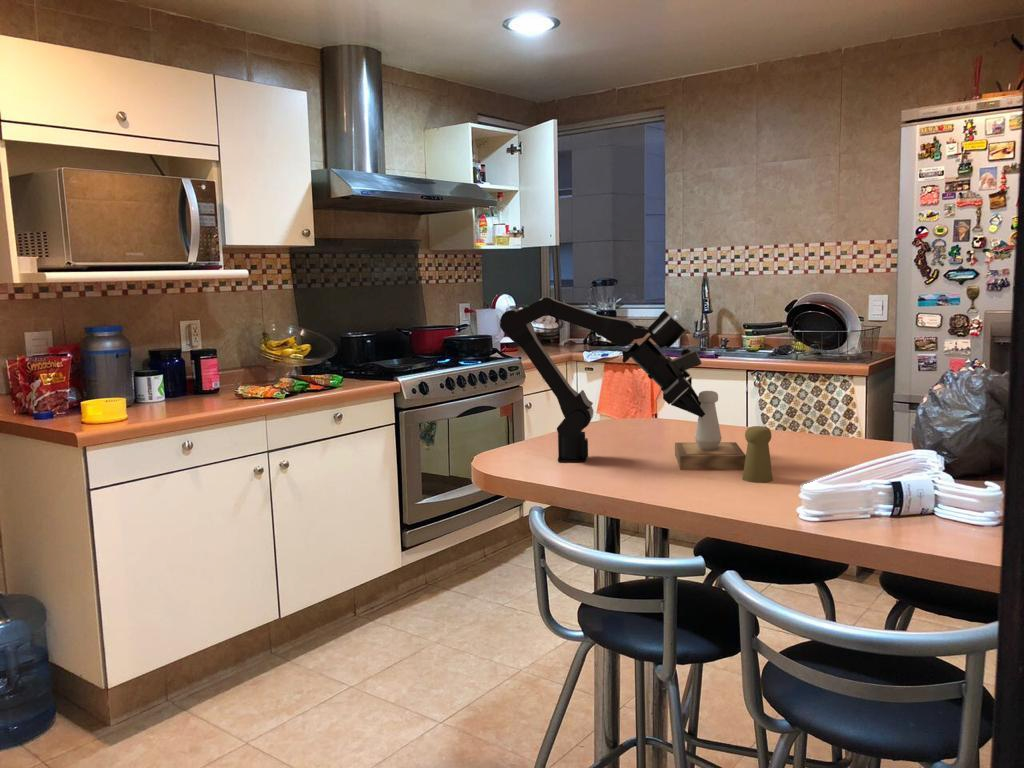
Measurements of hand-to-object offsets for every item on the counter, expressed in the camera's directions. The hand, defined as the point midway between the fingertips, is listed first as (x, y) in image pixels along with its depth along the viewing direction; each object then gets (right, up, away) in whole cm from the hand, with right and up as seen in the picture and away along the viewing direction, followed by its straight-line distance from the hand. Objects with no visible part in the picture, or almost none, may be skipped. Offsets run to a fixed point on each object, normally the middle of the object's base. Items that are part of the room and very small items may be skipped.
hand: (703, 412), depth 182 cm
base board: (+2, -11, +1) cm, 12 cm away
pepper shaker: (+8, -14, -14) cm, 21 cm away
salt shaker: (+1, -8, +1) cm, 9 cm away
